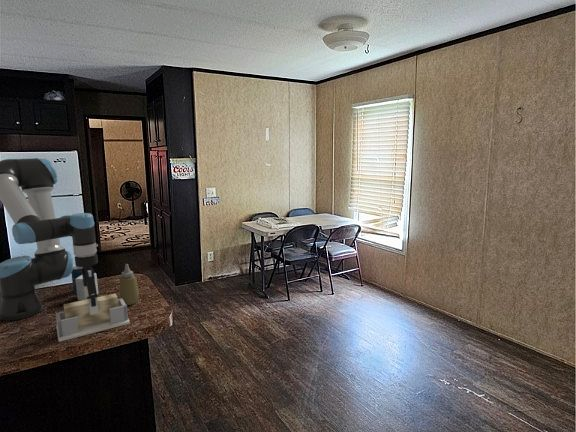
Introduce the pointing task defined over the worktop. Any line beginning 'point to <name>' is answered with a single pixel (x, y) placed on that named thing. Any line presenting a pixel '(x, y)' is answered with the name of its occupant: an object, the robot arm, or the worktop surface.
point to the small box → (81, 287)
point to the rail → (83, 309)
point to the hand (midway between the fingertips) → (91, 307)
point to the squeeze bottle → (128, 287)
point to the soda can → (75, 276)
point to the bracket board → (72, 330)
